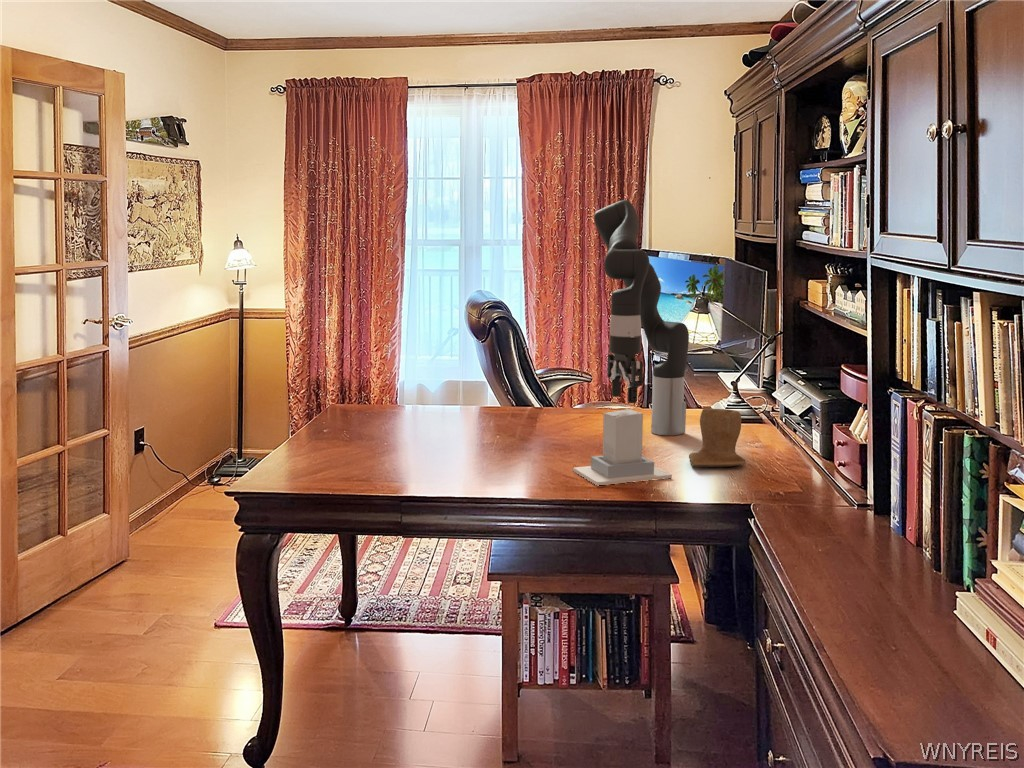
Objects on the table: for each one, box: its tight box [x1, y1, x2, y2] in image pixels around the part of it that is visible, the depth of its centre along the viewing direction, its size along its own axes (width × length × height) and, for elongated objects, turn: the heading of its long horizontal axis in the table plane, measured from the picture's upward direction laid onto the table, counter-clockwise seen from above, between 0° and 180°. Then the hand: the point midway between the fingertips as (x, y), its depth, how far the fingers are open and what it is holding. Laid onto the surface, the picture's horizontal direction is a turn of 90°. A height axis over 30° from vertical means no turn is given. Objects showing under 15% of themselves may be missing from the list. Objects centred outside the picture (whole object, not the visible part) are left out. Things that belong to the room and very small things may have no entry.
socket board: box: [572, 455, 673, 487], centre depth 220 cm, size 20×14×4 cm
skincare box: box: [602, 408, 644, 465], centre depth 219 cm, size 8×6×15 cm
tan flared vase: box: [688, 407, 747, 468], centre depth 229 cm, size 15×12×15 cm
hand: (624, 399), depth 217 cm, fingers open, 8 cm apart
